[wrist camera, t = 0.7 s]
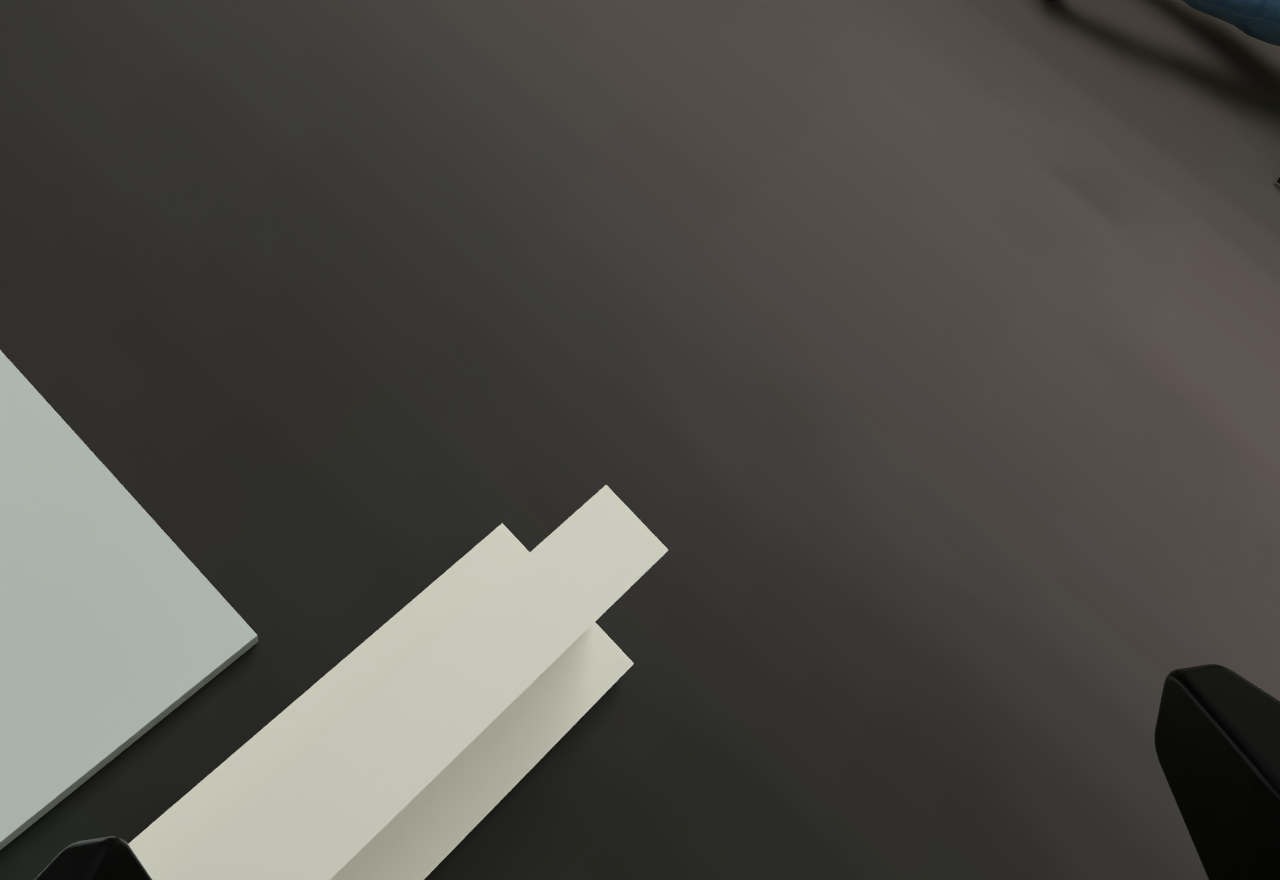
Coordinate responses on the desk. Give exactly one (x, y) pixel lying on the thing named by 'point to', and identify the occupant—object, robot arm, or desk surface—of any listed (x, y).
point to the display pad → (87, 613)
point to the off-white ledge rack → (419, 718)
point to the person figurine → (1246, 16)
